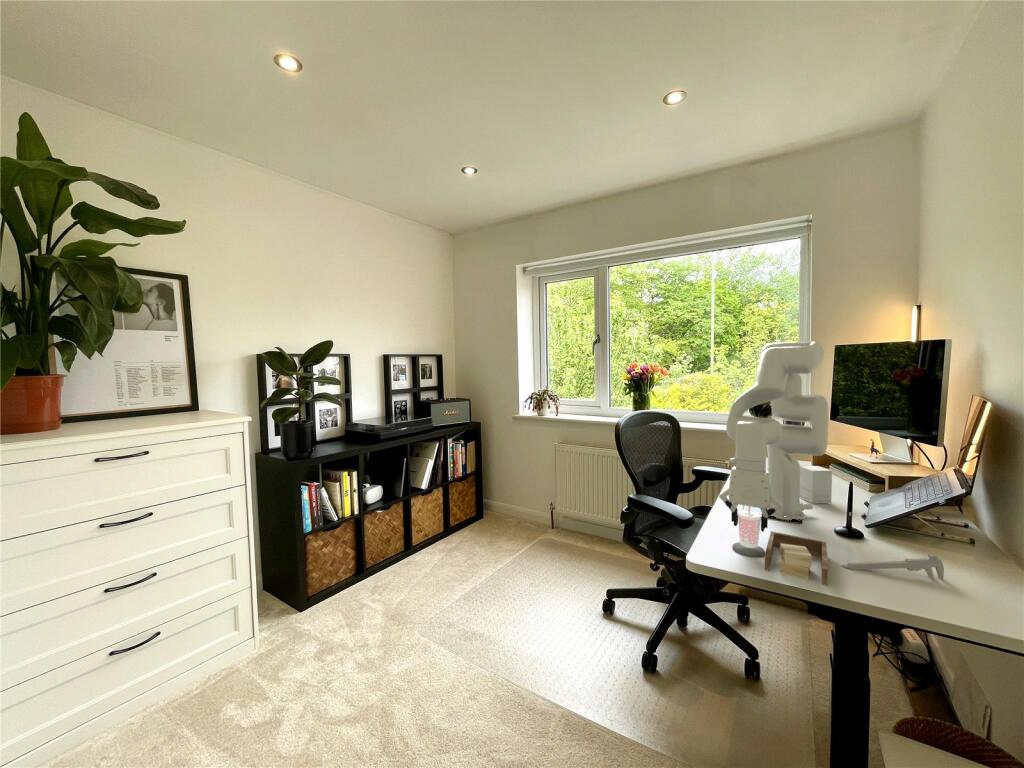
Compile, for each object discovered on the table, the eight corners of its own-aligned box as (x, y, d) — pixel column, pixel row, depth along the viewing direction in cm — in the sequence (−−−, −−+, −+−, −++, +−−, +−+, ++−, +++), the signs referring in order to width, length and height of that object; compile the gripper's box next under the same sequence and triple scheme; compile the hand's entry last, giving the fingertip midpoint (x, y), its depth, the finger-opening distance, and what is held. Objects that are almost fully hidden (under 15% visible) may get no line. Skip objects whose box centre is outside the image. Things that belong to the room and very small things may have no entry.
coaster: (752, 543, 123) (752, 541, 123) (771, 556, 115) (771, 554, 115) (726, 544, 123) (726, 542, 123) (743, 557, 115) (743, 555, 115)
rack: (770, 544, 123) (770, 531, 122) (825, 556, 115) (826, 542, 115) (764, 569, 108) (764, 554, 108) (827, 585, 100) (827, 569, 100)
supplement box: (832, 504, 156) (833, 470, 155) (812, 504, 156) (812, 470, 155) (817, 497, 163) (818, 465, 162) (798, 497, 163) (799, 465, 162)
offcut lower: (782, 564, 112) (782, 553, 111) (809, 571, 108) (810, 559, 108) (779, 573, 107) (779, 562, 107) (808, 580, 103) (808, 569, 103)
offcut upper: (780, 554, 111) (780, 543, 111) (805, 557, 109) (805, 546, 109) (785, 563, 106) (785, 552, 106) (811, 567, 104) (811, 555, 104)
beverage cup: (748, 550, 115) (749, 500, 114) (731, 541, 121) (732, 493, 120) (766, 547, 117) (767, 498, 116) (748, 538, 123) (749, 491, 122)
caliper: (940, 579, 103) (941, 554, 103) (943, 581, 102) (944, 556, 102) (841, 567, 110) (842, 543, 109) (843, 569, 108) (844, 545, 108)
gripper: (714, 463, 120) (713, 524, 121) (786, 472, 109) (784, 539, 111) (719, 458, 126) (718, 516, 127) (787, 466, 116) (786, 529, 117)
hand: (749, 526), depth 119 cm, fingers closed on beverage cup, 6 cm apart
